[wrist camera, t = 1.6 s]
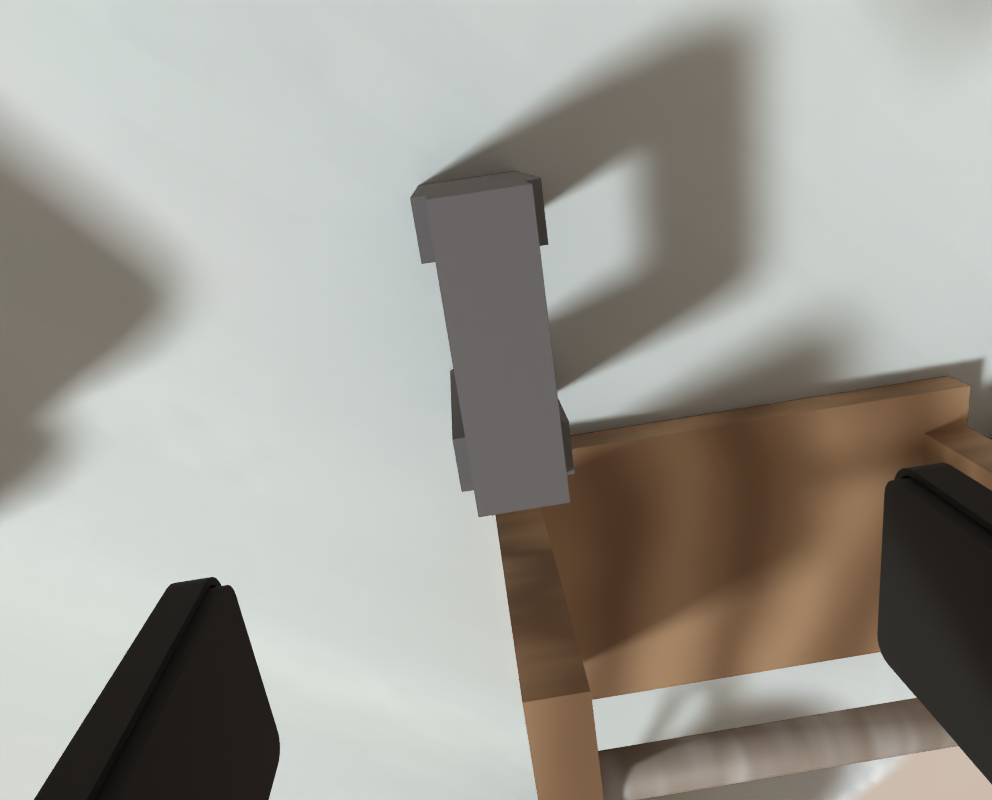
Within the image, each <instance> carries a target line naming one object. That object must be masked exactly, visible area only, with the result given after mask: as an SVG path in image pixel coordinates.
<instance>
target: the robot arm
mask: <svg viewBox="0 0 992 800" xmlns="http://www.w3.org/2000/svg"><path fill="white" fill-rule="evenodd" d="M877 638H878V644H879V648H880V651H881V653H882V655H883V657H884V659H885V661H886V662H887V663H888V665H889V666H890V667H891V668H892V669H893V670H894V672H895V673H896V674H897V675H898V676H899V677H900V679H901V680H902V681H903V682H904V683H905V684H906V686H907V687H908V688H909V689H910V690H911V691H912V692H913V694H914V695H915V696H916V697H917V698H918V699H919V701H920V702H921V703H922V704H923V705H924V706H925V708H926V709H927V710H928V711H929V712H930V713H931V714H932V716H933V717H934V718H935V719H936V720H937V721H938V723H939V724H940V725H941V726H942V727H943V728H944V729H945V731H946V732H947V733H948V734H949V735H950V736H951V738H952V739H953V740H954V741H955V742H956V743H957V745H958V746H959V747H960V748H961V749H962V750H963V751H964V753H965V754H966V755H967V756H968V757H969V758H970V760H971V761H972V762H973V763H974V764H975V765H976V767H977V768H978V769H979V770H980V771H981V772H982V773H983V775H984V776H985V777H986V778H987V779H988V780H989V782H990V783H991V784H992V491H991V490H990V489H988V488H987V487H985V486H983V485H982V484H980V483H979V482H977V481H975V480H974V479H972V478H971V477H969V476H967V475H966V474H964V473H963V472H961V471H959V470H958V469H956V468H954V467H953V466H951V465H949V464H947V463H944V462H942V463H933V464H927V465H921V466H914V467H908V468H902V469H900V470H899V471H898V472H897V474H896V476H895V478H894V480H891V481H889V482H888V483H887V485H886V487H885V492H884V511H883V531H882V551H881V571H880V590H879V610H878V630H877ZM279 755H280V742H279V735H278V731H277V728H276V724H275V721H274V718H273V715H272V711H271V708H270V705H269V702H268V698H267V695H266V692H265V689H264V685H263V682H262V679H261V676H260V672H259V669H258V666H257V662H256V659H255V656H254V653H253V649H252V646H251V643H250V640H249V636H248V633H247V630H246V627H245V623H244V620H243V617H242V614H241V610H240V607H239V604H238V601H237V597H236V594H235V592H234V590H233V588H232V587H231V586H229V585H225V586H221V584H220V583H219V581H218V580H217V579H216V578H214V577H210V578H203V579H197V580H191V581H184V582H178V583H173V584H171V585H170V586H169V587H168V588H167V589H166V591H165V592H164V594H163V596H162V597H161V599H160V600H159V602H158V603H157V605H156V607H155V608H154V610H153V611H152V613H151V615H150V616H149V618H148V619H147V621H146V623H145V624H144V626H143V627H142V629H141V630H140V632H139V634H138V635H137V637H136V638H135V640H134V642H133V643H132V645H131V646H130V648H129V650H128V651H127V653H126V654H125V656H124V657H123V659H122V661H121V662H120V664H119V665H118V667H117V669H116V670H115V672H114V673H113V675H112V677H111V678H110V680H109V681H108V683H107V684H106V686H105V688H104V689H103V691H102V692H101V694H100V696H99V697H98V699H97V700H96V702H95V704H94V705H93V707H92V708H91V710H90V711H89V713H88V715H87V716H86V718H85V719H84V721H83V723H82V724H81V726H80V727H79V729H78V731H77V732H76V734H75V735H74V737H73V739H72V740H71V742H70V743H69V745H68V746H67V748H66V750H65V751H64V753H63V754H62V756H61V758H60V759H59V761H58V762H57V764H56V766H55V767H54V769H53V770H52V772H51V773H50V775H49V777H48V778H47V780H46V781H45V783H44V785H43V786H42V788H41V789H40V791H39V793H38V794H37V796H36V797H35V799H34V800H269V796H270V792H271V788H272V785H273V781H274V777H275V774H276V770H277V766H278V762H279Z"/></svg>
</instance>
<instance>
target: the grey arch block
mask: <svg viewBox="0 0 992 800" xmlns="http://www.w3.org/2000/svg"><path fill="white" fill-rule="evenodd" d="M410 200H411V205H412V211H413V217H414V222H415V228H416V234H417V240H418V245H419V251H420V257H421V262H422V264H424V263H431V262H436V268H437V274H438V280H439V286H440V291H441V297H442V303H443V309H444V315H445V321H446V327H447V333H448V339H449V345H450V351H451V357H452V362H453V368H454V370H453V371H450V378H451V407H452V436H453V445H454V450H455V456H456V462H457V467H458V473H459V479H460V484H461V490H462V492H464V491H470V490H474V493H475V499H476V504H477V510H478V516H479V517H483V516H489V515H495V514H502V513H508V512H514V511H520V510H527V509H533V508H539V507H545V506H551V505H558V504H564V503H570V497H569V489H568V480H567V475H570V474H575V472H574V464H573V455H572V446H571V438H570V429H569V421H568V419H567V417H566V414H565V412H564V410H563V408H562V406H561V404H560V402H559V399H558V396H557V388H556V380H555V371H554V363H553V354H552V346H551V338H550V329H549V321H548V313H547V304H546V296H545V287H544V279H543V271H542V262H541V254H540V246H542V245H548V238H547V229H546V220H545V212H544V203H543V194H542V186H541V178H538V177H535V176H531V175H528V174H524V173H521V172H518V171H511V172H504V173H498V174H491V175H484V176H478V177H471V178H465V179H458V180H451V181H445V182H438V183H432V184H425V185H419V186H418V187H417V189H416V190H415V192H414V193H413V195H412V196H411V198H410Z"/></svg>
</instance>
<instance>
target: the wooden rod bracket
mask: <svg viewBox="0 0 992 800" xmlns="http://www.w3.org/2000/svg"><path fill="white" fill-rule="evenodd" d="M970 387H971V386H970V385H968V384H965V383H963V382H961V381H959V380H956V379H954V378H952V377H950V376H945V377H938V378H932V379H926V380H920V381H913V382H907V383H901V384H894V385H888V386H882V387H875V388H869V389H863V390H856V391H850V392H844V393H837V394H831V395H825V396H819V397H812V398H806V399H800V400H793V401H787V402H781V403H774V404H768V405H762V406H755V407H749V408H743V409H736V410H730V411H724V412H718V413H711V414H705V415H699V416H692V417H686V418H680V419H673V420H667V421H661V422H654V423H648V424H642V425H635V426H629V427H623V428H617V429H610V430H604V431H598V432H591V433H585V434H579V435H572V436H570V438H571V446H572V455H573V464H574V472H575V474H570V475H567V480H568V489H569V497H570V503H564V504H558V505H551V506H545V507H539V508H533V509H527V510H520V511H514V512H508V513H502V514H496V521H497V528H498V535H499V542H500V549H501V556H502V563H503V570H504V577H505V584H506V591H507V598H508V605H509V612H510V619H511V626H512V633H513V640H514V646H515V653H516V660H517V667H518V674H519V681H520V688H521V695H522V702H523V708H524V715H525V721H526V727H527V733H528V739H529V745H530V752H531V758H532V764H533V770H534V776H535V783H536V789H537V795H538V800H640V799H646V798H652V797H658V796H664V795H670V794H676V793H681V792H687V791H693V790H699V789H705V788H711V787H717V786H723V785H729V784H735V783H741V782H747V781H753V780H759V779H765V778H771V777H776V776H782V775H788V774H794V773H800V772H806V771H812V770H818V769H824V768H830V767H836V766H842V765H848V764H854V763H860V762H866V761H871V760H877V759H883V758H889V757H895V756H901V755H907V754H913V753H919V752H925V751H931V750H937V749H942V748H949V747H955V746H958V745H957V743H956V742H955V741H954V740H953V739H952V738H951V736H950V735H949V734H948V733H947V732H946V731H945V729H944V728H943V727H942V726H941V725H940V724H939V723H938V721H937V720H936V719H935V718H934V717H933V716H932V714H931V713H930V712H929V711H928V710H927V709H926V708H925V706H924V705H923V704H922V703H921V702H920V701H919V699H918V698H913V699H907V700H901V701H895V702H889V703H883V704H877V705H871V706H865V707H859V708H853V709H847V710H841V711H835V712H829V713H823V714H817V715H811V716H805V717H799V718H793V719H787V720H781V721H775V722H769V723H763V724H757V725H751V726H745V727H739V728H733V729H727V730H721V731H715V732H709V733H703V734H698V735H692V736H686V737H680V738H674V739H668V740H662V741H656V742H650V743H644V744H638V745H632V746H626V747H620V748H614V749H608V750H602V751H598V748H597V740H596V731H595V723H594V715H593V707H592V700H593V699H599V698H605V697H611V696H617V695H623V694H629V693H635V692H641V691H647V690H653V689H659V688H665V687H671V686H677V685H683V684H689V683H695V682H701V681H707V680H713V679H719V678H726V677H732V676H738V675H744V674H750V673H756V672H762V671H768V670H774V669H780V668H786V667H792V666H798V665H804V664H810V663H816V662H822V661H828V660H834V659H840V658H846V657H852V656H858V655H864V654H871V653H877V652H881V651H880V648H879V644H878V638H877V630H878V610H879V590H880V571H881V551H882V531H883V511H884V492H885V487H886V485H887V483H888V482H889V481H891V480H894V478H895V476H896V474H897V472H898V471H899V470H900V469H902V468H908V467H914V466H921V465H927V464H933V463H942V462H944V463H947V464H949V465H951V466H953V467H954V468H956V469H958V470H959V471H961V472H963V473H964V474H966V475H967V476H969V477H971V478H972V479H974V480H975V481H977V482H979V483H980V484H982V485H983V486H985V487H987V488H988V489H990V490H991V491H992V440H991V439H989V438H987V437H985V436H984V435H982V434H980V433H978V432H976V431H974V430H972V429H970V428H969V427H967V421H968V410H969V398H970Z"/></svg>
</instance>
